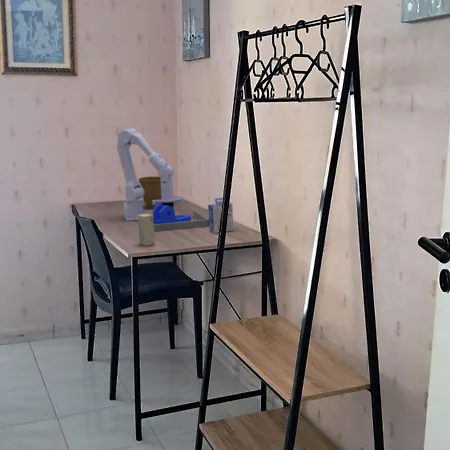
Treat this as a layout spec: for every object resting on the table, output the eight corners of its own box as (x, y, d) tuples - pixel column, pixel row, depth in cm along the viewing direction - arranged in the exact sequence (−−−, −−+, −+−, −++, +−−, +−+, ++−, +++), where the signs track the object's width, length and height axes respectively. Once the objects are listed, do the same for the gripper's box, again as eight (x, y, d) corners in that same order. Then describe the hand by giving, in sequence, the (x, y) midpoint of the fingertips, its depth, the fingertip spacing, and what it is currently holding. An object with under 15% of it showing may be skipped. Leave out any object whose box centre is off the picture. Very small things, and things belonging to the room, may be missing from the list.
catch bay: (148, 232, 279) (148, 225, 279) (138, 221, 303) (138, 215, 302) (210, 226, 287) (209, 219, 287) (195, 216, 311) (195, 210, 310)
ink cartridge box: (228, 228, 282) (227, 196, 279) (234, 230, 277) (233, 198, 274) (208, 231, 277) (207, 199, 274) (214, 233, 272) (212, 200, 269)
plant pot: (136, 210, 333) (134, 180, 330) (145, 205, 347) (143, 176, 344) (162, 210, 330) (161, 180, 327) (171, 205, 344) (169, 176, 341)
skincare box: (155, 244, 256) (153, 215, 253) (145, 246, 254) (144, 216, 251) (148, 241, 261) (146, 213, 259) (138, 243, 259) (137, 214, 256)
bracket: (163, 226, 292) (162, 207, 290) (153, 223, 298) (152, 205, 296) (194, 220, 303) (193, 202, 301) (184, 218, 309) (183, 200, 307)
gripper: (153, 192, 296) (155, 220, 299) (183, 190, 300) (185, 218, 303) (150, 190, 303) (152, 218, 306) (180, 188, 307) (181, 215, 310)
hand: (168, 217), depth 305 cm, fingers closed
